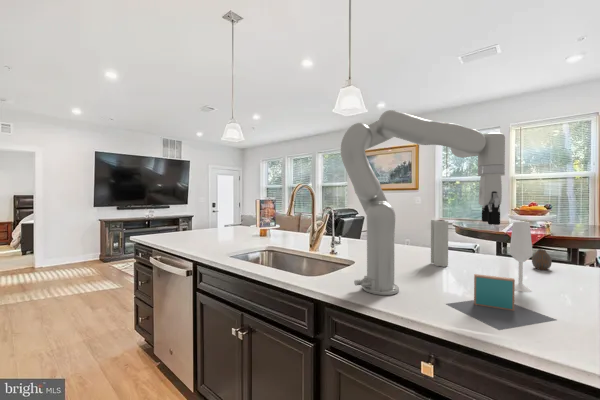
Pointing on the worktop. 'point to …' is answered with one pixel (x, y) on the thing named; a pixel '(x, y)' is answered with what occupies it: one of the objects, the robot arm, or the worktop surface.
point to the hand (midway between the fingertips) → (490, 223)
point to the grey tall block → (439, 242)
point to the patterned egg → (541, 260)
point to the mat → (501, 315)
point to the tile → (494, 291)
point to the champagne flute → (521, 249)
